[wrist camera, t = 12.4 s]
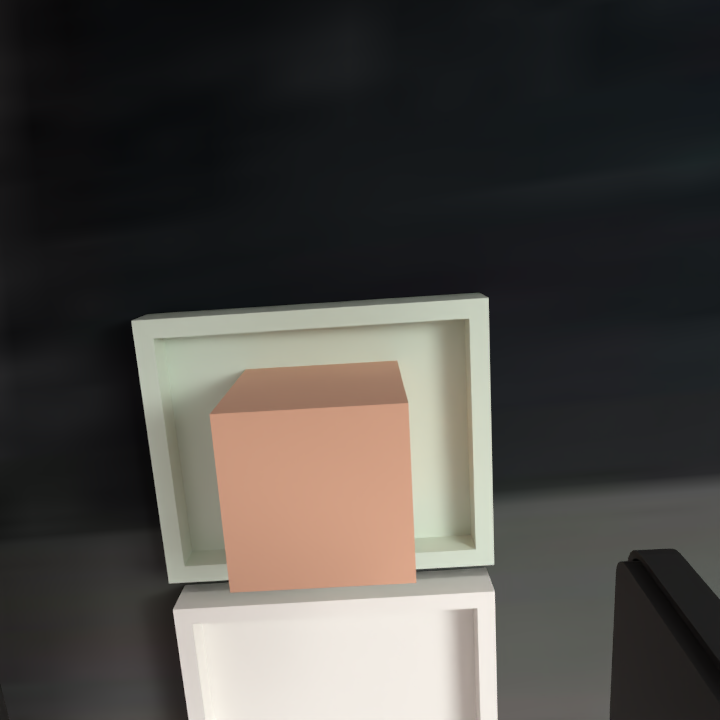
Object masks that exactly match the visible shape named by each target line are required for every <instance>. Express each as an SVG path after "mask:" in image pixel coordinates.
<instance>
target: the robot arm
mask: <svg viewBox="0 0 720 720" xmlns="http://www.w3.org/2000/svg"><path fill="white" fill-rule="evenodd" d="M0 720H9V717H8V713H7V709H6V705H5V701H4V697H3V693H2V689H1V685H0ZM610 720H720V599H719V598H718V597H717V596H716V595H715V594H714V592H713V591H712V590H711V589H710V588H709V587H708V585H707V584H706V583H705V582H704V581H703V580H702V578H701V577H700V576H699V575H698V574H697V573H696V571H695V570H694V569H693V568H692V567H691V566H690V564H689V563H688V562H687V561H686V560H685V559H684V557H683V556H682V555H681V554H680V553H679V552H678V551H677V550H675V549H654V550H633V551H632V552H631V553H630V555H629V557H628V561H624V562H619V563H618V565H617V569H616V586H615V609H614V631H613V653H612V676H611V698H610Z"/></svg>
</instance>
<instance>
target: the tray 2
mask: <svg viewBox="0 0 720 720" xmlns="http://www.w3.org/2000/svg"><path fill="white" fill-rule="evenodd" d="M173 615H174V622H175V628H176V635H177V642H178V649H179V656H180V663H181V670H182V677H183V684H184V691H185V698H186V705H187V712H188V719H189V720H497V676H496V629H495V591H494V588H493V585H492V583H491V580H490V577H489V574H488V572H487V569H486V568H472V569H454V570H437V571H419V572H416V583H406V584H387V585H368V586H349V587H330V588H311V589H292V590H273V591H254V592H235V593H230V587H229V582H228V583H211V584H193V585H185V586H184V588H183V590H182V592H181V594H180V596H179V598H178V600H177V602H176V604H175V606H174V608H173Z"/></svg>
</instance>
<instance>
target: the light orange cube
mask: <svg viewBox="0 0 720 720" xmlns="http://www.w3.org/2000/svg"><path fill="white" fill-rule="evenodd" d="M210 423H211V432H212V440H213V449H214V458H215V466H216V475H217V484H218V492H219V501H220V509H221V518H222V527H223V535H224V544H225V553H226V561H227V570H228V579H229V587H230V593H235V592H254V591H273V590H292V589H311V588H330V587H349V586H368V585H387V584H406V583H416V561H415V539H414V517H413V495H412V472H411V450H410V428H409V405H408V400H407V396H406V392H405V388H404V385H403V381H402V377H401V373H400V369H399V366H398V362H397V361H380V362H363V363H346V364H328V365H311V366H294V367H276V368H259V369H246V370H245V371H244V372H243V373H242V374H241V376H240V377H239V378H238V379H237V381H236V382H235V383H234V384H233V386H232V387H231V388H230V389H229V391H228V392H227V393H226V394H225V396H224V397H223V398H222V399H221V401H220V402H219V403H218V404H217V406H216V407H215V408H214V409H213V411H212V412H211V413H210Z"/></svg>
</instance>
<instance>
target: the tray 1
mask: <svg viewBox="0 0 720 720" xmlns="http://www.w3.org/2000/svg"><path fill="white" fill-rule="evenodd" d="M131 323H132V330H133V337H134V344H135V351H136V358H137V365H138V372H139V379H140V385H141V392H142V399H143V406H144V413H145V420H146V427H147V434H148V441H149V448H150V455H151V462H152V469H153V476H154V483H155V490H156V497H157V503H158V510H159V517H160V524H161V531H162V538H163V545H164V552H165V559H166V566H167V573H168V580H169V583H186V582H203V581H221V580H229V579H228V570H227V561H226V553H225V544H224V535H223V527H222V518H221V509H220V501H219V492H218V484H217V475H216V466H215V458H214V449H213V440H212V432H211V423H210V413H211V412H212V411H213V409H214V408H215V407H216V406H217V404H218V403H219V402H220V401H221V399H222V398H223V397H224V396H225V394H226V393H227V392H228V391H229V389H230V388H231V387H232V386H233V384H234V383H235V382H236V381H237V379H238V378H239V377H240V376H241V374H242V373H243V372H244V371H245V370H246V369H259V368H276V367H294V366H311V365H328V364H346V363H363V362H380V361H397V362H398V366H399V369H400V373H401V377H402V381H403V385H404V388H405V392H406V396H407V400H408V405H409V428H410V450H411V472H412V495H413V517H414V539H415V561H416V569H429V568H447V567H464V566H481V565H494V534H493V487H492V440H491V393H490V345H489V298H488V297H486V296H484V295H483V294H481V293H466V294H451V295H435V296H420V297H404V298H389V299H373V300H358V301H342V302H327V303H311V304H296V305H280V306H265V307H249V308H233V309H218V310H202V311H187V312H171V313H156V314H146V315H144V316H142V317H139V318H137V319H134V320H132V321H131Z"/></svg>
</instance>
